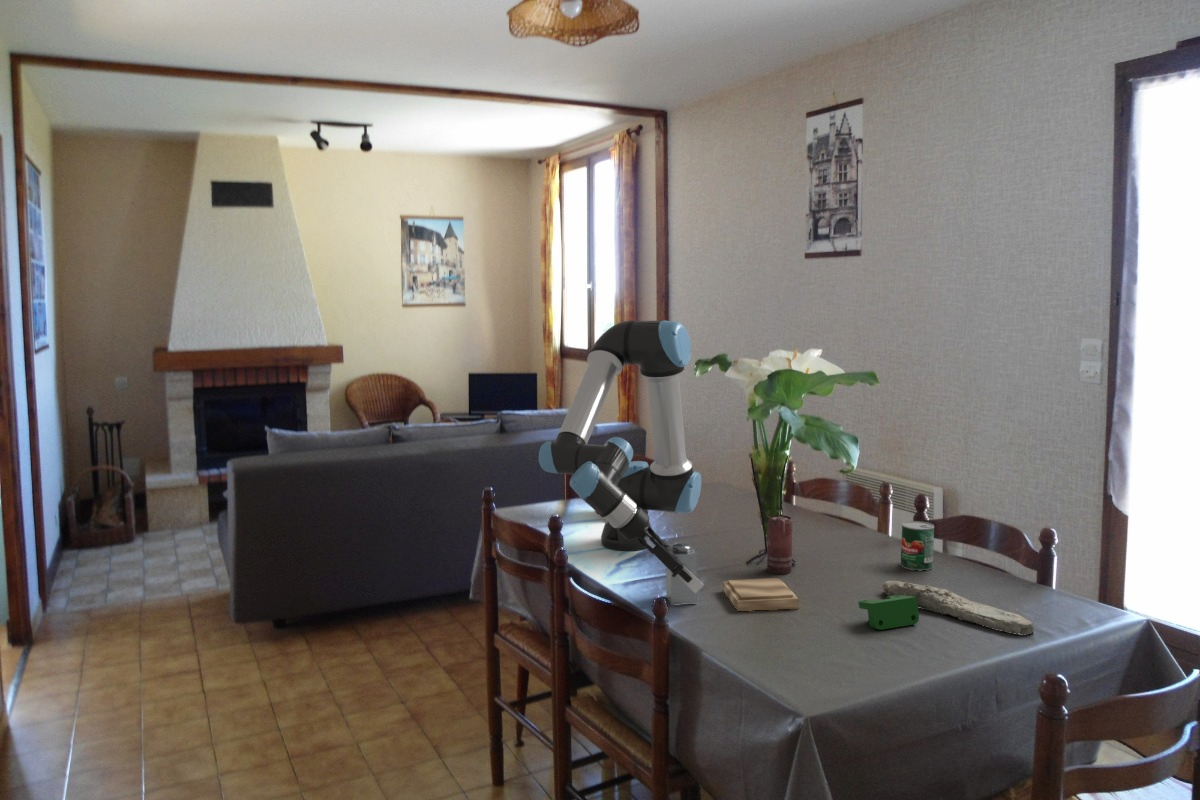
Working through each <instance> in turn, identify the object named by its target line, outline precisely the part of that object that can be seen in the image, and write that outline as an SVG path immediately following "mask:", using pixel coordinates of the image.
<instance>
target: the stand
mask: <svg viewBox="0 0 1200 800" xmlns="http://www.w3.org/2000/svg"><path fill="white" fill-rule="evenodd" d="M723 590H724V592H725V593H726V595H727V596H728V598H729V599H730V600H731V602H732V603H733V605H734V606H735V607H734V606H733V605H732V606H733V607H734V609H735V608H736V609H737V610H736V609H735V610H736V612H737V611H749V612H755V611H754V610H769V611H779V610H778V609H790V610H799V609H800V608H799V607H800V598H799V597H798V596H797V595H796V594H795V593H794V592H793V591H792V589H790V587H788V585H786V583H785V582H784V581H783V580H782V579H780V578H778V577H769V578H768V577H767V578H746V579H745V578H744V579H728V580H725V581H722V591H723ZM724 592H723V593H724ZM726 595H725V596H726ZM727 596H726V597H727ZM728 598H727V599H728ZM729 599H728V600H729ZM730 600H729V601H730ZM731 602H730V603H731ZM732 603H731V604H732ZM752 610H753V611H752Z"/></svg>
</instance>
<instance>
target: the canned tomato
mask: <svg viewBox="0 0 1200 800" xmlns="http://www.w3.org/2000/svg"><path fill="white" fill-rule="evenodd" d="M934 537H935V525H934V524H933V523H931V522H928V521H927V522H926V521H919V520H908V521H903V522H902V523H901V538H900V541H901V543H900V545H901V546H900V567H901V566H902V567H901V568H903V567H904V568H903V569H905V568H906V570H908V569H909V570H910V571H914V570H918V571H917V572H923V571H922V570H927V571H931V570H932V569H933V568H934V567H933V566H934V565H933V562H934V540H935V539H934ZM930 569H931V570H930Z"/></svg>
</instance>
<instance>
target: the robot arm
mask: <svg viewBox="0 0 1200 800" xmlns="http://www.w3.org/2000/svg"><path fill="white" fill-rule="evenodd" d="M691 352H692V345H691V339H690V335H689V333H688V331H687V329H686V327H685V326H684V325H683V324H682V323H681V322H679V321H671V320H623V321H620V322H618V323H616V324H614V325H611V327H609V328H608V329H607V330H605V331H604V332H603V333H602V334H601V335H600V336H599V338H598V339H597V340H596V341H595V342H594V344H593V346H591V349H590V351H589V352H588V353H589V354H588V355H587V364H588V365H587V367H586V369H585V372H584V374H583V376H582V378H581V380H580V383H579V386H578V388H577V390H576V392H575V394H574V397H573V399H572V402H571V404H570V406H569V409H568V411H567V414H566V415H565V418H564V420H563V423H562V425H561V427H560V430H559V431H558V433H557V436H556V438H555V440H554V441H553V440H550V441H548V440H547V441H545V442H544V443H542V444H541V446H540V448H539V452H538V463H539V466H540V467H541V469H542V471H544V472H547V473H550V474H551V473H552V474H557V475H560V474H562V475H572V476H571V477H570V479H569V486H570V487H571V489H572V490H573V491H574V492H575V493H576V495H578V497H579V498H580V499H582V500H583V501H584V502H585V503H586V504H587V505H588V506H590V507H591V508H592V509H593V510H594V512H595V511H596V512H595V513H597V514H598V515H599V516H600V517H602V518H603V519H604V520H603V523H604V526H603V528H602V532H601V536H600V542H601V543H600V544H601V545H602V547H604V548H607V549H610V550H614V551H615V550H616V551H627V552H628V551H639V550H638V549H641V550H645V549H644V548H646V549H647V550H648V551H649V552H650V553H651V554H652V555H654V556H655V558H657V559H658V560H659V561H660V562H661V563H662V564H663V565H664V566H665V567H667V568H668V569H669V570H670V571H671V572H672V573H673V575H672V576H673V577H675V576H677V577H678V578H679V579H680V580H682V581H683V582H684V583H685V584H686V585H687V586H688V587H689V588H690V589H691V590H692V591H693V592H694V593H695V594H696V593H697V594H698V592H699V591H700V590H701V589H702V588H703V587H704V586H705V584H704V583H703V582H702V581H700V579H698V577H697V578H696V577H695V576H694V575H693V574H692V573H691V572H690V571H689V570H688V569H687V568H686V567H685V566H684V565H682V564H680V563H679V562H678V561H677V560H676V559H675V558H674V557H673V556H672V555H671V554H670V553H669V551H668V550H667V549H666V547H673V545H672V546H670V545H669V544H667V542H665V541H664V540H663V539H662V538H660V536H659V535H658V534H657V533H656V532H655V531H654V529H653V528H652V524H651V522H650V516H649V511H655V512H663V513H664V512H665V513H673V514H689V513H692V512H693V511H694V510H695V508H696V506H697V504H698V501H699V499H700V496H701V490H702V475H701V473H700V472H699V471H696V470H694V469H693V467H694V466H693V462H692V461H691V460H689V459H688V457H687V452H686V441H685V428H684V417H683V406H682V393H681V383H680V376H681V375H682V374H683V373H684V371H685V367H686V366H687V365H688V364H689V363H690V361H691V356H692V354H691ZM628 365H629V366H630V365H631V366H639V371H640V376H641V377H643V378H644V379H646V384H647V386H646V387H647V395H648V405H649V406H648V407H649V414H650V415H649V416H650V425H651V427H650V428H651V436H652V446H653V447H652V448H653V455H654V456H653V457H654V461H653V462H652V463H651V464H650V465H649V463H648V462H647V461H644V460H643V461H642V460H636V461H635V460H634V461H632V459H633V457H634V449H633V447H632V445H631V444H630V443H629V442H628V441H627V440H625V439H624V438H623V437H618V436H613V437H610V438H609V439H607V440H606V441H605V442H604V444H593V443H592V444H591V443H590V444H588V442H589V440H590V438H591V435H592V433H593V431H594V428H595V426H596V424H597V421H598V418H599V416H600V414H601V411H602V409H603V407H604V404H605V401H606V399H607V397H608V394H609V392H610V389H611V387H612V384H613V383H614V379H615V378H616V376H618V375H620V374H621V373H622V371H623V369H624V367H625V366H628ZM676 566H677V567H676Z"/></svg>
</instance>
